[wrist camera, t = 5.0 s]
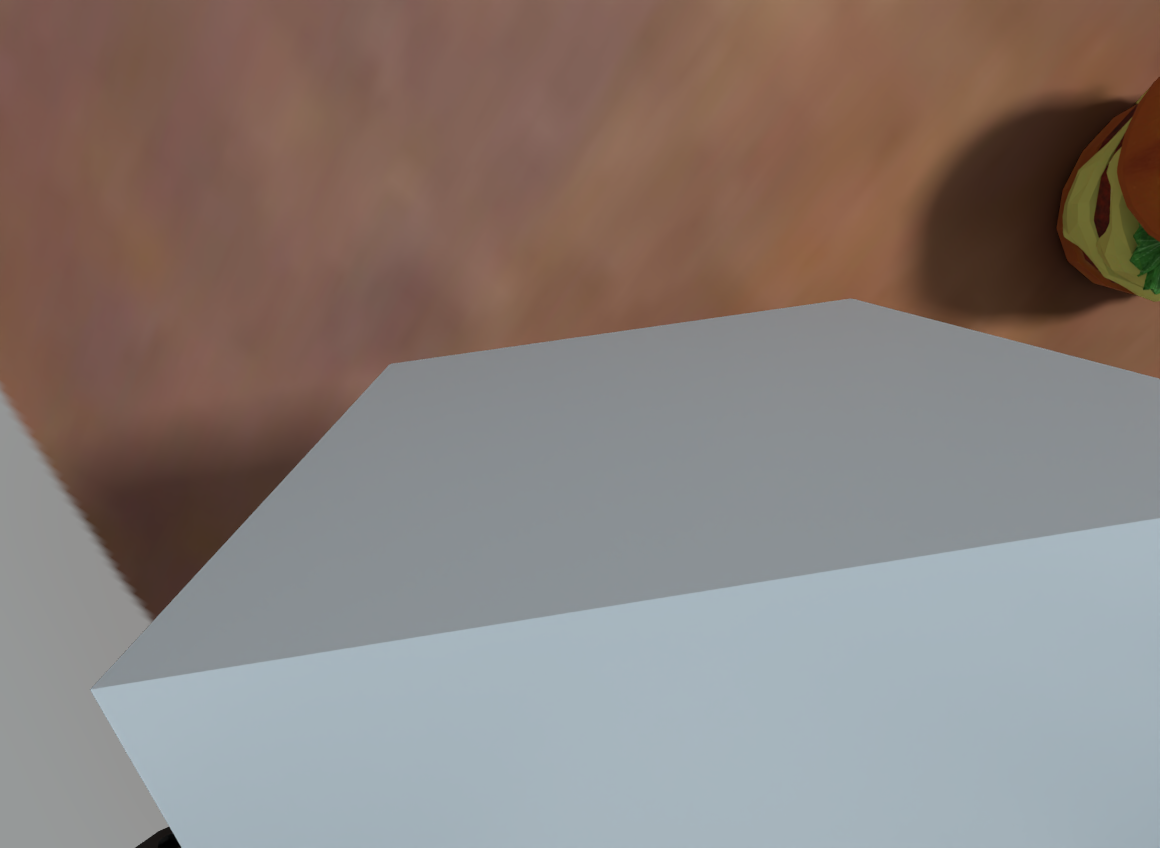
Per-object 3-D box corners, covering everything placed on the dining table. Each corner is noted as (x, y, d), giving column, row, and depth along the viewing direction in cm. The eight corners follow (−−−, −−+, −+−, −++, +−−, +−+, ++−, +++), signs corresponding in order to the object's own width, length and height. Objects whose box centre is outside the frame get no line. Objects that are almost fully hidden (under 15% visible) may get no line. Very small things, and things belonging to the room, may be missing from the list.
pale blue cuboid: (833, 656, 16) (1154, 1120, 8) (479, 715, 16) (425, 1268, 7) (851, 298, 12) (1490, 464, 4) (390, 364, 12) (88, 690, 4)
